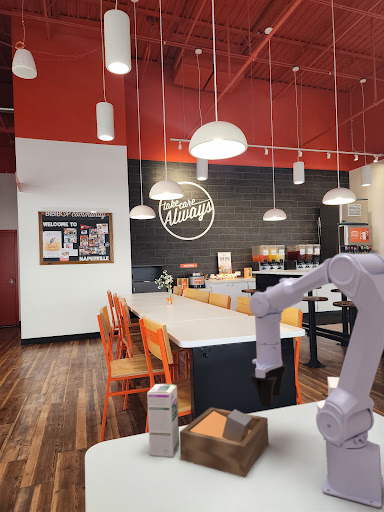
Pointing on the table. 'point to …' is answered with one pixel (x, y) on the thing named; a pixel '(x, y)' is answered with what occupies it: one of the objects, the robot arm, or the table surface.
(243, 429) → the gray block
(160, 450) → the syrup box
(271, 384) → the robot arm
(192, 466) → the table surface
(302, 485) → the table surface
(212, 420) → the orange flap
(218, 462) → the wooden box
